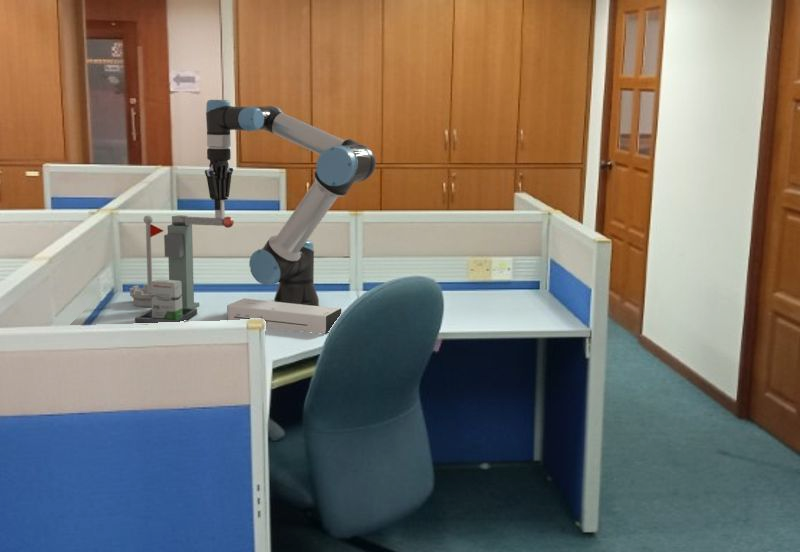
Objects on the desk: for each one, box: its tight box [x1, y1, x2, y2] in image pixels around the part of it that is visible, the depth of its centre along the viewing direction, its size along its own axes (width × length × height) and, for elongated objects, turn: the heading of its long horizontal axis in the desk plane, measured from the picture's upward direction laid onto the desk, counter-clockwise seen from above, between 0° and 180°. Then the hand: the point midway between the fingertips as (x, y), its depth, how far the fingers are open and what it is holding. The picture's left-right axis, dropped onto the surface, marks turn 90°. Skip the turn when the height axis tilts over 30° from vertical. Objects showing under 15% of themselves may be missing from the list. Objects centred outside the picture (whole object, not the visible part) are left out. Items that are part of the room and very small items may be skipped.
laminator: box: [226, 298, 342, 335], centre depth 289 cm, size 34×12×6 cm, turn 70°
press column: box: [163, 223, 200, 309], centre depth 304 cm, size 9×11×28 cm
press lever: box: [171, 214, 234, 229], centre depth 301 cm, size 21×5×4 cm, turn 81°
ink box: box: [151, 278, 183, 319], centre depth 293 cm, size 9×5×12 cm, turn 73°
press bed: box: [134, 308, 198, 324], centre depth 293 cm, size 14×16×2 cm
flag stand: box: [129, 214, 164, 308], centre depth 311 cm, size 13×13×30 cm
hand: (220, 219), depth 306 cm, fingers closed
